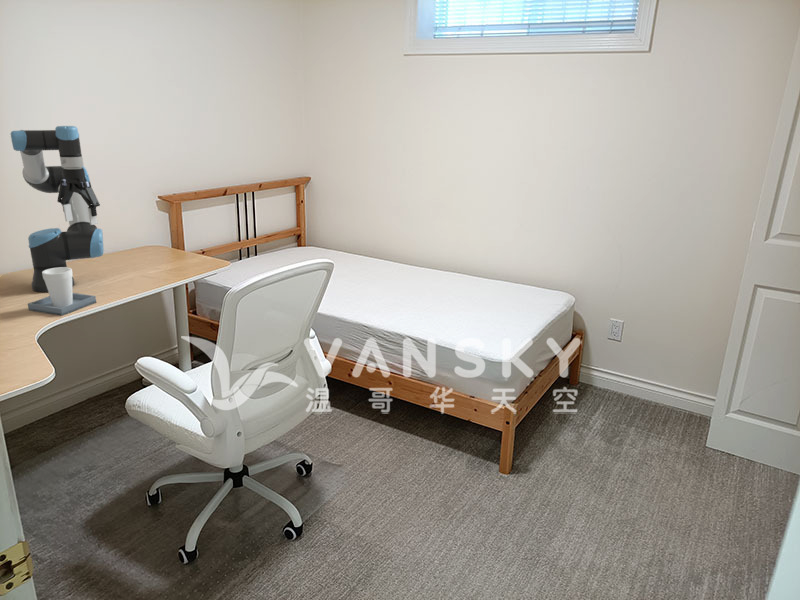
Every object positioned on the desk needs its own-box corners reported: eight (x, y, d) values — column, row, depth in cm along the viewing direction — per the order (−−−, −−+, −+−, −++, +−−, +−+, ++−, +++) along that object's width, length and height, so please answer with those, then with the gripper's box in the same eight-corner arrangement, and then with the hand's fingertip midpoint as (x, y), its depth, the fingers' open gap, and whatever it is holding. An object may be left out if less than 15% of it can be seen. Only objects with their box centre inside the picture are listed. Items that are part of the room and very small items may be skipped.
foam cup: (58, 299, 222) (52, 266, 218) (82, 300, 221) (76, 267, 217) (43, 308, 213) (36, 273, 209) (67, 308, 212) (61, 274, 208)
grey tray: (28, 310, 213) (27, 303, 212) (64, 297, 227) (63, 291, 226) (62, 315, 208) (61, 308, 207) (96, 302, 222) (95, 295, 221)
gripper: (41, 166, 225) (50, 221, 232) (87, 171, 216) (96, 227, 223) (58, 164, 232) (67, 217, 239) (104, 169, 222) (112, 223, 229)
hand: (81, 222), depth 231 cm, fingers open, 13 cm apart
